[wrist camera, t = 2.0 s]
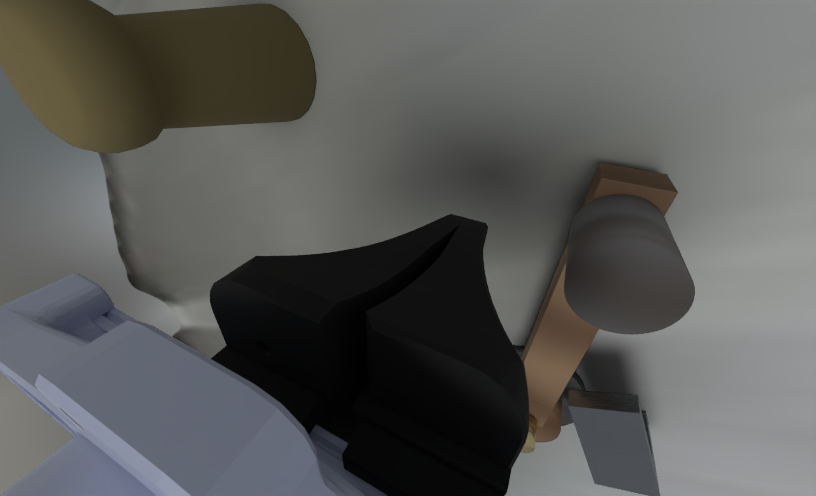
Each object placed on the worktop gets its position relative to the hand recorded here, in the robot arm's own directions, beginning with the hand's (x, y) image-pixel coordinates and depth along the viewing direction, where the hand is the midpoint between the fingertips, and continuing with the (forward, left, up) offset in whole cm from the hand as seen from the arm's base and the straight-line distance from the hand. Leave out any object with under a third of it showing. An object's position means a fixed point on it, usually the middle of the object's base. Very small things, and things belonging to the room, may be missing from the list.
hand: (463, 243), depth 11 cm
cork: (-14, +6, -7) cm, 16 cm away
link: (+4, -8, -6) cm, 11 cm away
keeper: (+7, -13, -7) cm, 16 cm away
